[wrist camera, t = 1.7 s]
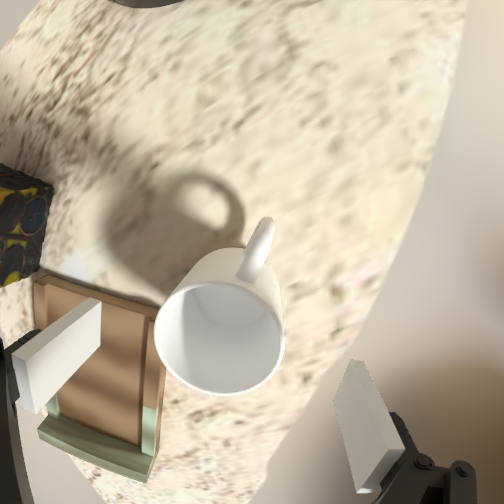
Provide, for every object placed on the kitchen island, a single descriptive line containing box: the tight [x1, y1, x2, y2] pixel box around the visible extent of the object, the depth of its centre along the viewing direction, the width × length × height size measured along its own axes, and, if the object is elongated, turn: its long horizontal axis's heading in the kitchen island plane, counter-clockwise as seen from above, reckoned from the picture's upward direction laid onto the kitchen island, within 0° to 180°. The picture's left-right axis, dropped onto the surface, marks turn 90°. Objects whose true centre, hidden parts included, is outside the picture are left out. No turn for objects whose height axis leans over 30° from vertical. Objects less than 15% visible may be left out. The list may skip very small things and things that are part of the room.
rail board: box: [33, 275, 166, 483], centre depth 30 cm, size 21×15×6 cm
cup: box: [154, 217, 284, 396], centre depth 24 cm, size 8×12×10 cm
